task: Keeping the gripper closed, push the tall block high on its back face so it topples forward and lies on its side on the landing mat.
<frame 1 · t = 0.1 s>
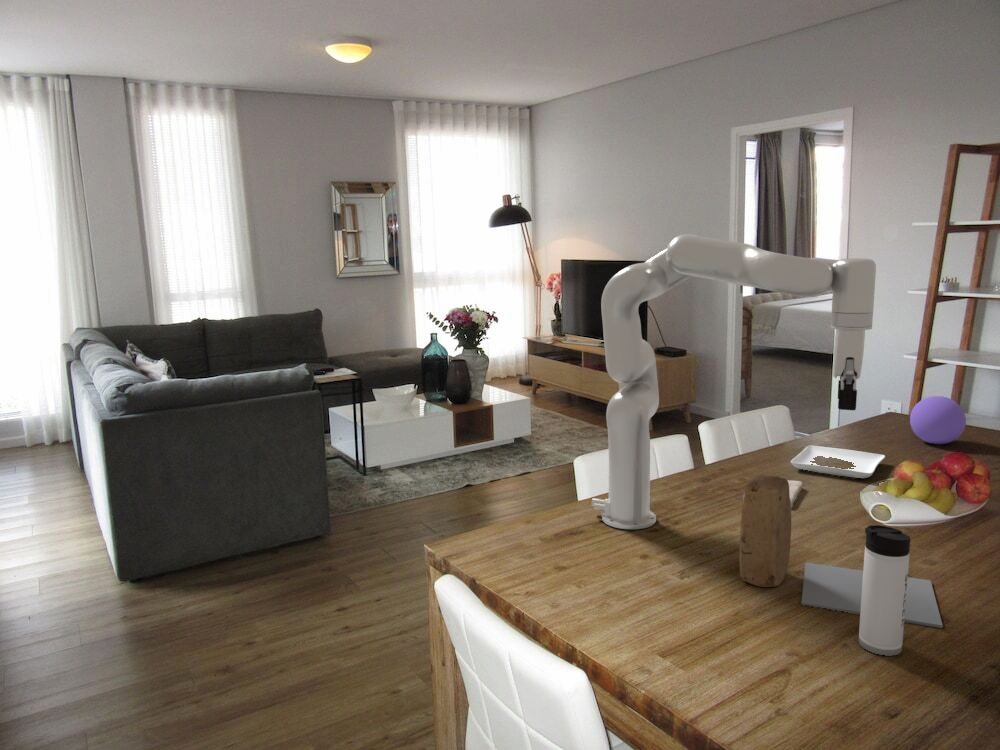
hand: (846, 404, 151), 31 cm above the table, tool pointing down, fingers open, 9 cm apart
salad plate: (837, 469, 211), on the table
landing mat: (867, 593, 137), on the table
block: (764, 578, 144), on the table
washcloth: (773, 497, 190), on the table
decorative ball: (935, 443, 233), on the table
travel mug: (878, 647, 120), on the table
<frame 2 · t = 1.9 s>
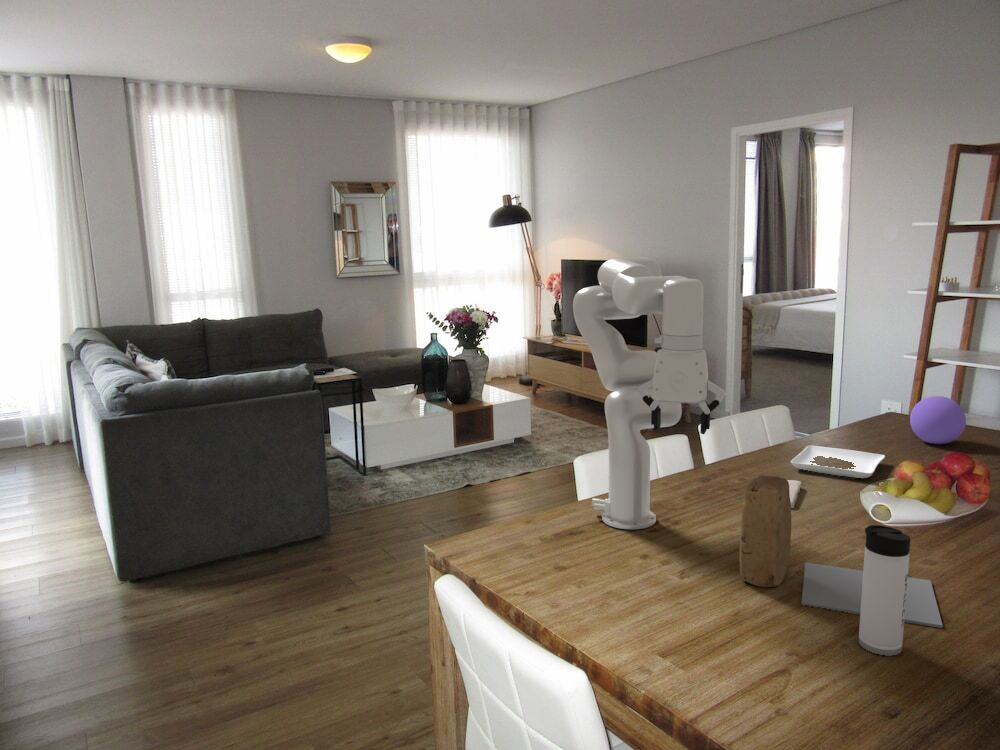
hand: (680, 430, 146), 28 cm above the table, tool pointing down, fingers open, 8 cm apart
nothing on the table moved.
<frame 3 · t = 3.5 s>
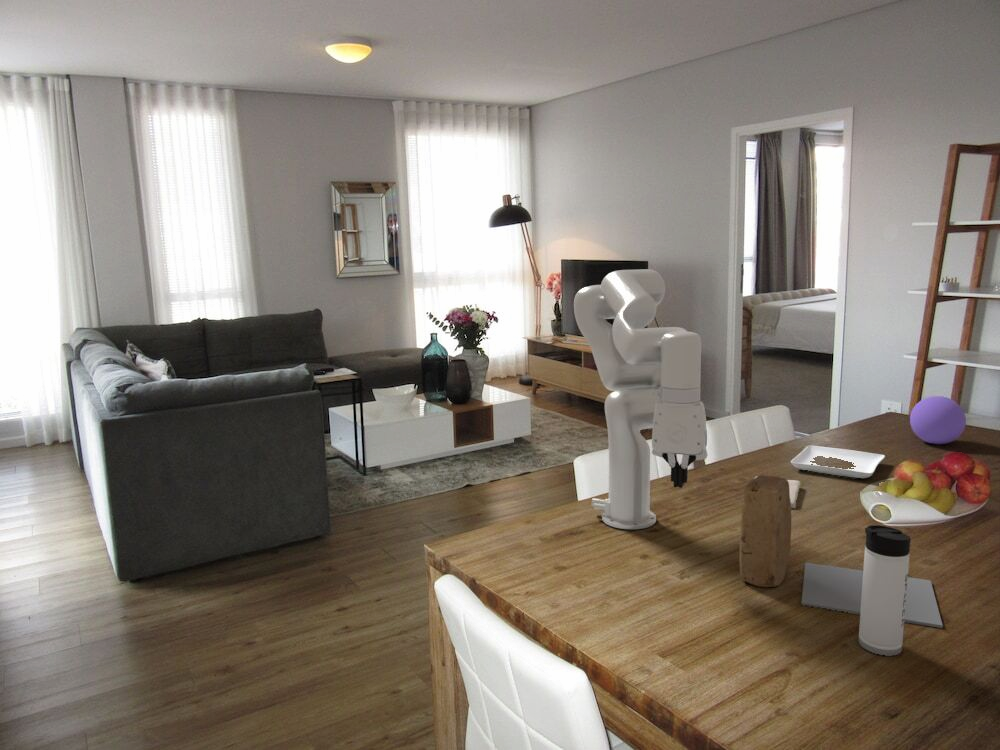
hand: (679, 485, 148), 17 cm above the table, tool pointing down, fingers closed
nothing on the table moved.
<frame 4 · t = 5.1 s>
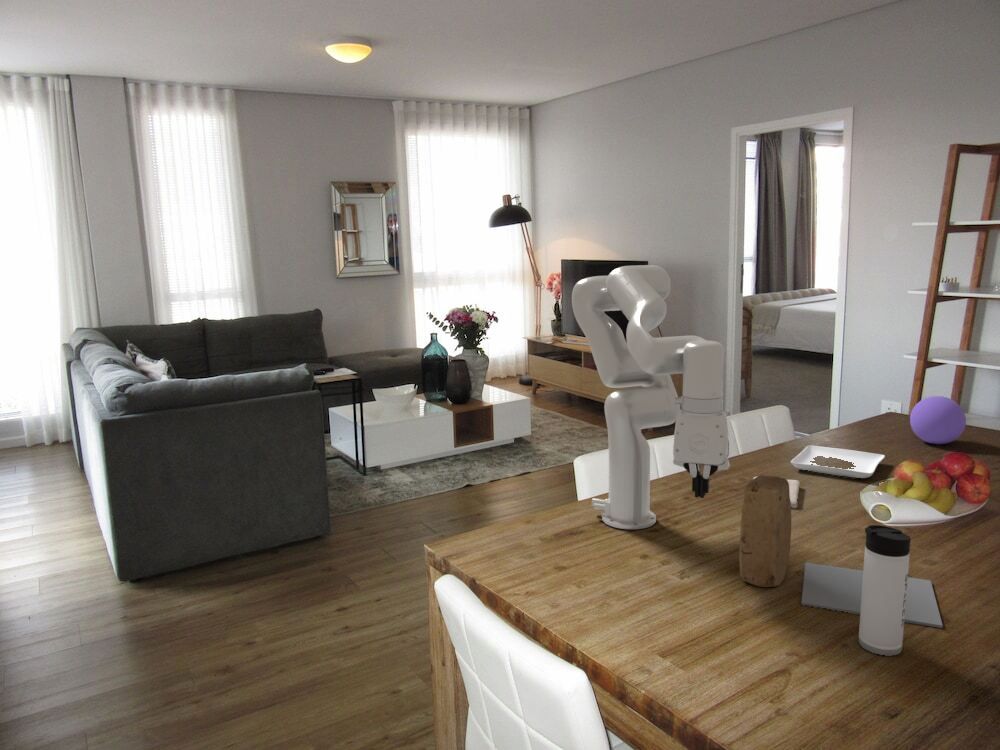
hand: (700, 495, 147), 15 cm above the table, tool pointing down, fingers closed
nothing on the table moved.
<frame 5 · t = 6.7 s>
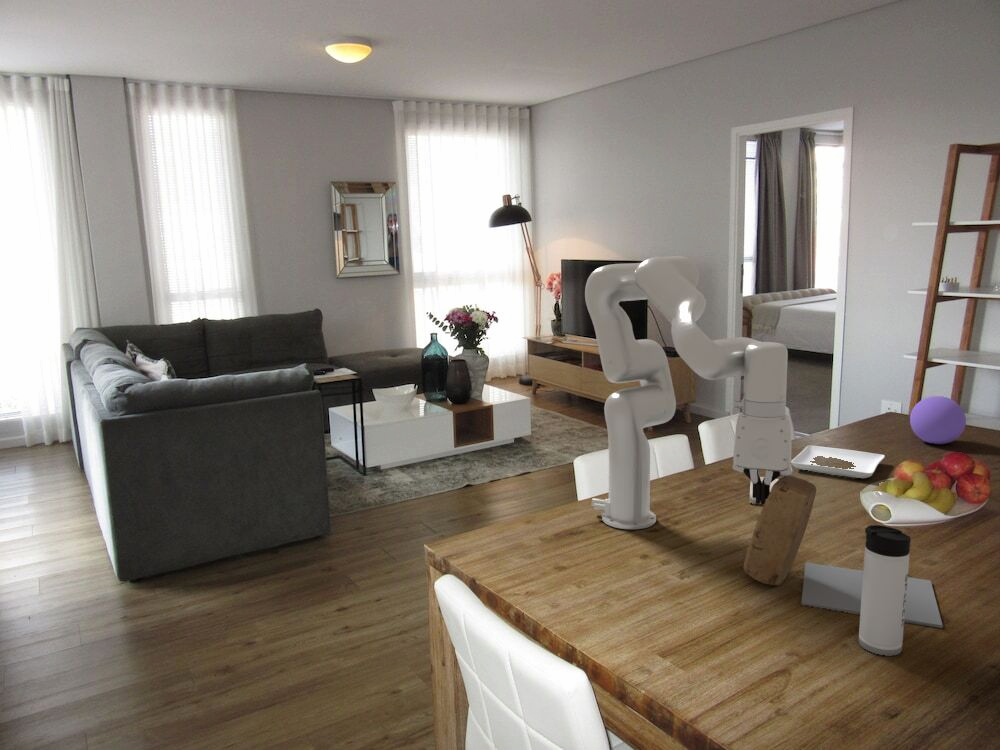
hand: (760, 501, 142), 15 cm above the table, tool pointing down, fingers closed
block: (765, 574, 144), point 1 cm above the table, touching gripper
everything else where it was.
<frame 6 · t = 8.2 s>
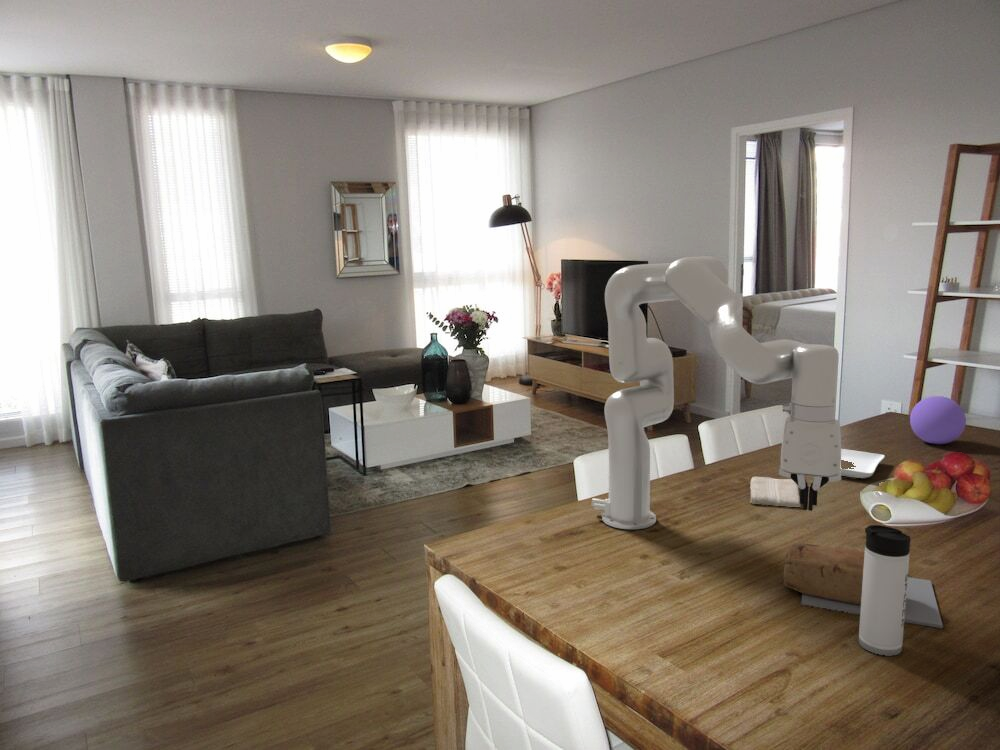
hand: (807, 507, 139), 15 cm above the table, tool pointing down, fingers closed
block: (785, 562, 141), point 4 cm above the table, touching landing mat
everything else where it was.
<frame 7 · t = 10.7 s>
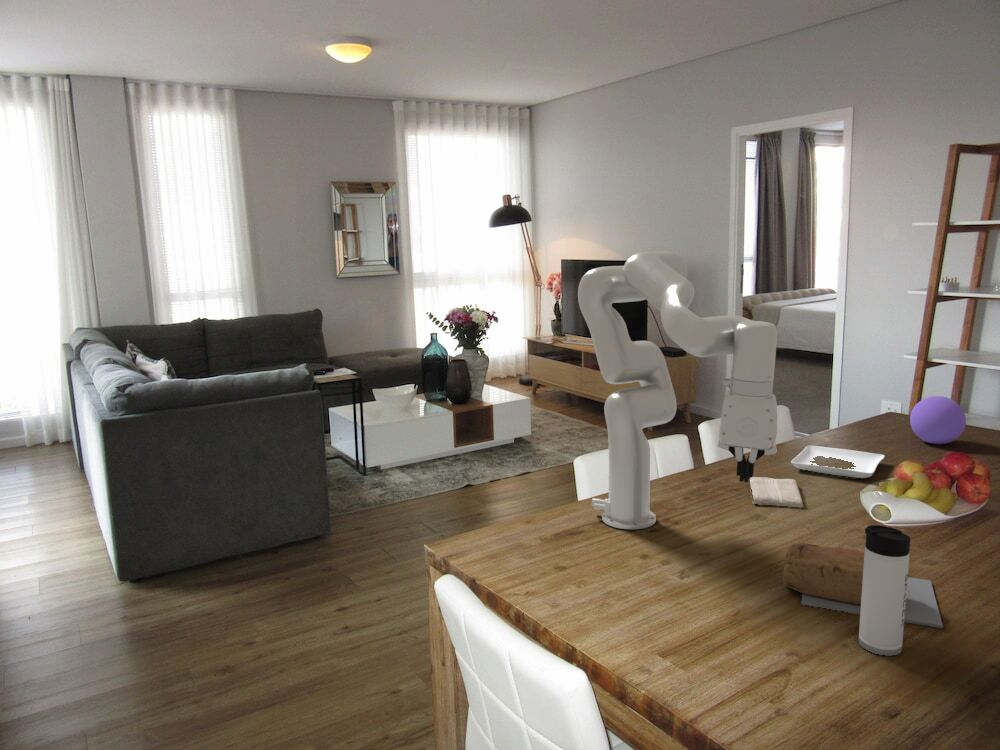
hand: (744, 479, 143), 19 cm above the table, tool pointing down, fingers closed
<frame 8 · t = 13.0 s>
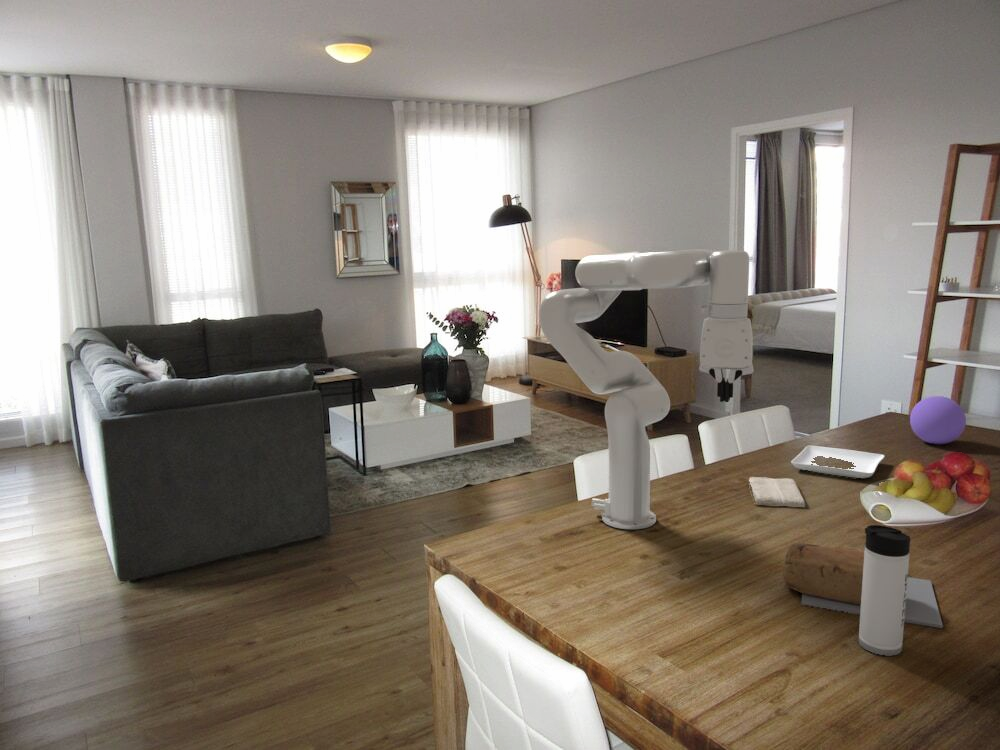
hand: (724, 400, 153), 32 cm above the table, tool pointing down, fingers closed
at the end: block tilted 91°; block touching landing mat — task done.
